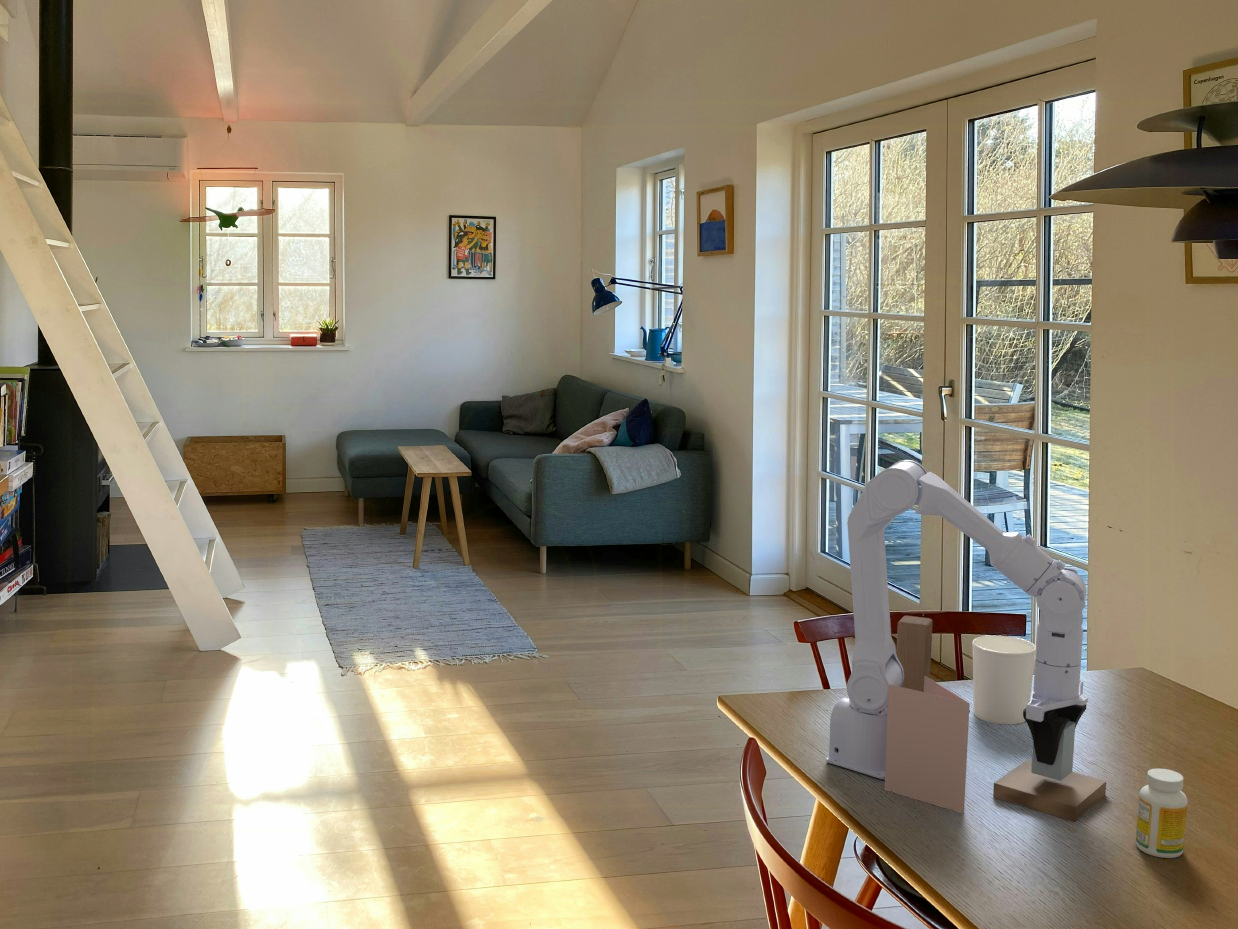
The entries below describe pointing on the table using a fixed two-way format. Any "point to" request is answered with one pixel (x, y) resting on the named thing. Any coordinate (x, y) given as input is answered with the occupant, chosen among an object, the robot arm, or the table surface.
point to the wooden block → (914, 650)
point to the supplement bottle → (1162, 814)
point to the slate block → (1058, 757)
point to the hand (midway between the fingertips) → (1051, 758)
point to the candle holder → (1002, 678)
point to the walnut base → (1050, 792)
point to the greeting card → (927, 745)
